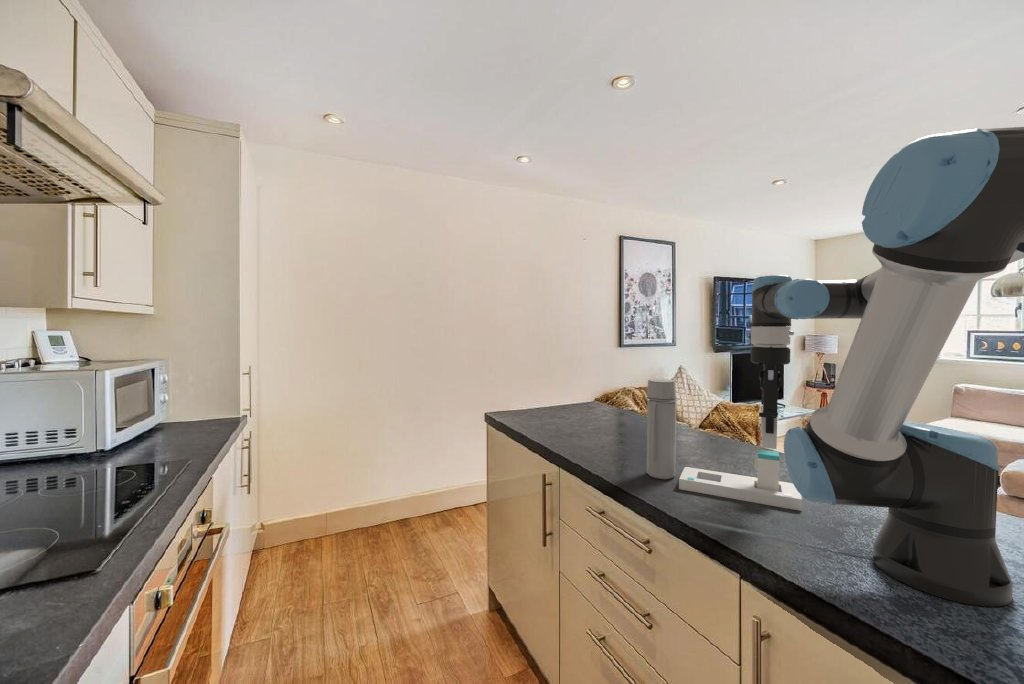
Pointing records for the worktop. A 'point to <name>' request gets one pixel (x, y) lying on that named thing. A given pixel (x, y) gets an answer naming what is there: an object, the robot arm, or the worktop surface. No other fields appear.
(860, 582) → the worktop surface
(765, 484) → the plug
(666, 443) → the water bottle
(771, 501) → the panel
